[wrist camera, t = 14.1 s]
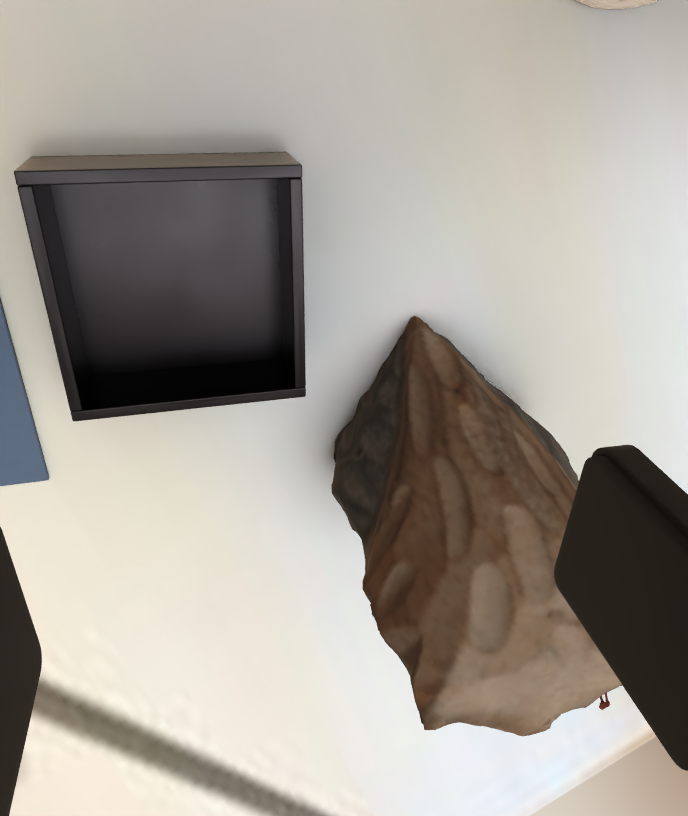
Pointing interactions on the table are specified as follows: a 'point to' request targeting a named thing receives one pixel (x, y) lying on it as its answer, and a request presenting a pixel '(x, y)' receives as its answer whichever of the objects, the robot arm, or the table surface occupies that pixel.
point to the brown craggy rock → (465, 542)
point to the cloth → (16, 421)
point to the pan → (170, 277)
